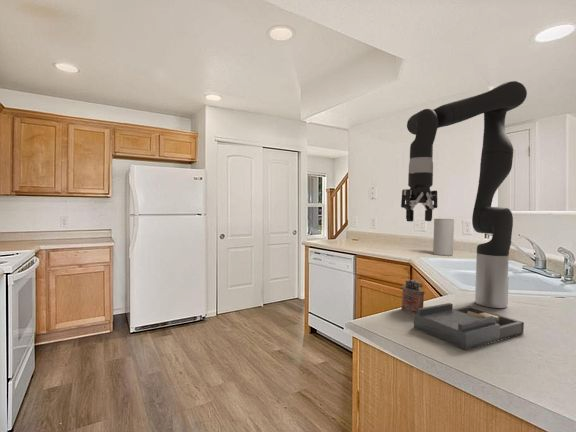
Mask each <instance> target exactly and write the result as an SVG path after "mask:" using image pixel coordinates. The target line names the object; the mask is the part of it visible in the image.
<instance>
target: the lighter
mask: <svg viewBox="0 0 576 432" xmlns="http://www.w3.org/2000/svg"><path fill="white" fill-rule="evenodd" d="M420 288H423V283H422V282H419V281H416V280H415V279H405V285H402V286H401V289H402V294H401V295H402V296H401V297H402V299H401V301H402V302H401V311H403V312H405V313H408V314H409V315H412V316H414V313H417V309H419V308H424V298H425V290H423V289H420Z"/></svg>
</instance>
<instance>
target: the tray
mask: <svg viewBox="0 0 576 432" xmlns="http://www.w3.org/2000/svg"><path fill="white" fill-rule="evenodd" d="M453 310H457V311H460V312H463V313H466V314H467V312H468V311H471V312H474V313H477V314H479V313H484V312H485V313H488V314H492V315H495V316H498V317H499V325H500V336H499V340H500V341H502V340H501V339H503V340H506V339H505V338H507V339H509V338H508V337H510V338H513V336H514V337H516V335H517V336H520V335H524V329H525V327H524V326H525V325H524V324H525V322H524V321H520V320H517V319H513V318H510V317H507V316H505V315H504V316H503V315H501V314H497V313H495V312H491V311H487V310H483V309H481V308H477V307H474V306H471V305H468V306H463V307H458V308H453Z"/></svg>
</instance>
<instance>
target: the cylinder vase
mask: <svg viewBox="0 0 576 432" xmlns="http://www.w3.org/2000/svg"><path fill="white" fill-rule="evenodd" d="M454 224H455V219H454V218H434V219H433V242H432V243H433V245H432V248H433V249H432V251H433V255H435V256H441V255H444V256H443V257H449V256H450V257H451V255H452V256H453V254H454V237H455V236H454V235H455V233H454V231H455V225H454Z"/></svg>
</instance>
